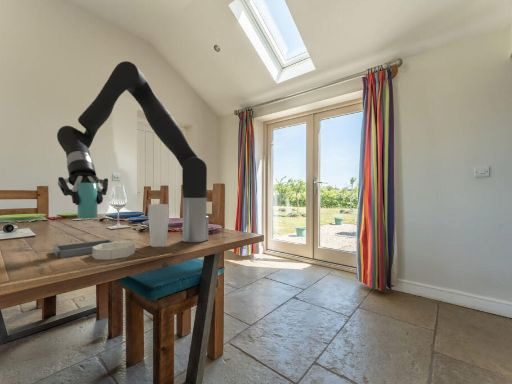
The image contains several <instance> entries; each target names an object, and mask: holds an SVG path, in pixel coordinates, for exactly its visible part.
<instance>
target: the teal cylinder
mask: <svg viewBox="0 0 512 384" xmlns="http://www.w3.org/2000/svg"><path fill="white" fill-rule="evenodd" d="M77 192H78V196H79V205H76V206H77V219H81V220H82V219H96V218H98V204H97V183H77Z"/></svg>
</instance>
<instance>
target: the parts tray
mask: <svg viewBox="0 0 512 384" xmlns="http://www.w3.org/2000/svg"><path fill="white" fill-rule="evenodd" d="M111 242H115V241H114V240H112V239H103V240H96V241H94V240H93V241H86V242H77V243H69V244H60V245H53V254H54V256H55V258H57V259H65V258H71V257H77V256H79V257H80V256H85V255H92V247H93V246H96V245H99V244H103V243H111Z"/></svg>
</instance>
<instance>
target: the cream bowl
mask: <svg viewBox="0 0 512 384" xmlns="http://www.w3.org/2000/svg"><path fill="white" fill-rule="evenodd" d="M135 253H136V243H134V242H131V241H114V242H111V243H103V244H99V245H96V246H93V247H92V254H91V256H92V258H93V259H94V260H117V259H123V258H127V257H130V256H132V255H134V254H135Z"/></svg>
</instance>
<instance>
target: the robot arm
mask: <svg viewBox="0 0 512 384" xmlns="http://www.w3.org/2000/svg"><path fill="white" fill-rule="evenodd" d="M126 91H127V92H129V94H130V95H131V96H132V97H133V98H134V99H135V101H136V102H137V103H138V105H139V106H140V108H141V109H142V111H143V114H144V116H145V119H146V121H147V122H148V124H149V126H150V127H151V129H152V131H153V132H154V133H155V135H156V136H157V138H158V139H160V141H161V142H162V143H163V144H164V146H165V147H166V148H167V149H168V150H169V151H170V152H171V153H172V155H174V157H175V158H176V160H177V162H178V163H179V165H180V167H181V168H182V170H181V176H182V177H181V181H182V182H181V183H182V185H181V187H182V242H184V243H200V242H205V241H207V240H209V216H208V215H207V199H208V198H207V195H208V190H207V189H208V188H207V185H208V183H207V182H208V180H207V179H208V178H207V177H208V172H207V171H208V167H207V163H206V162H205V161H204V160H203V158H201V157H199V156H198V154H196V152H195V151H194V150H193V148H192V147H191V146H190V144H189V143H188V140H187V139H186V137H185V134H184V132H183V131H182V129H181V127H180V126H179V123H178V122H177V121H176V120H175V118H174V117H173V115H172V113H171V112H170V111H169V110H168V109H167V108H166V106H165V105H164V104H163V103H162V102H161V100H159V98H158V97H157V95H156V94H155V92H154V91H153V89H152V87H151V85H150V84H149V81H148V80H147V78H146V75H144V73H143V71H142V70H140V68H139V67H138V66H137V65H136V64H135V63H133V62H131V61H121V62H119V63H118V64H117V65H116V66H115V67H114V69H113V70H112V72H111V74H110V75H109V77H108V79H107V80H106V82H105V83H104V85H103V87H102V88H101V90H100V91H99V93H98V94H97V96H96V97H95V98H94V100H93V101H92V102H91V103H90V104H89V105H88V107H87V108H86V109H85V110H84V111H83V112H82V113H81V114H80V115H79V117H78V118H77V122H78V124H79V125H81V126H82V128H84V129H85V131H84V132H83V131H81V130H79V129H77V128H75V127H73V126H71V125H64V126H63V125H62V126H61V127H60V128H59V129H58V131H57V134H56V138H57V142H58V144H59V145H60V146H61V148H62V150H63V151H64V152H65V155H66V169H67V173H68V178H64V177H62V176H59V177H58V179H57V185H58V186H59V188H60V190H61V192H62V194H63V195H64V196H66V197H67V196H70V197H71V201H72V203H73V204H75V206H77V205H79V196H78V192H77V183H97V205H101V203H103V200H104V198H103V197H104V196H106V195H107V192H108V185H109V179H108V178H107V177H106V178H104V179H100V178H99V177H98V176H97V172H96V168H95V165H94V160H93V159H92V157H91V152H90V149H89V148H90V147H91V145H92V144H93V141H94V139H95V136H96V134H97V132H98V131H99V129H100V128H101V127H102V126H103V125H104V124H105V123H106V122H107V121H108V119H109V118H110V116H111V115H112V112H113V111H114V110H113V109H114V107H115V104H116V103H117V101H118V99H119V98H120V96H122V94H123V93H124V92H126ZM68 183H69V185H72V189H71V188H70V187H69V186H68ZM99 184H100V187H102V189H101V188H100V187H99Z"/></svg>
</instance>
